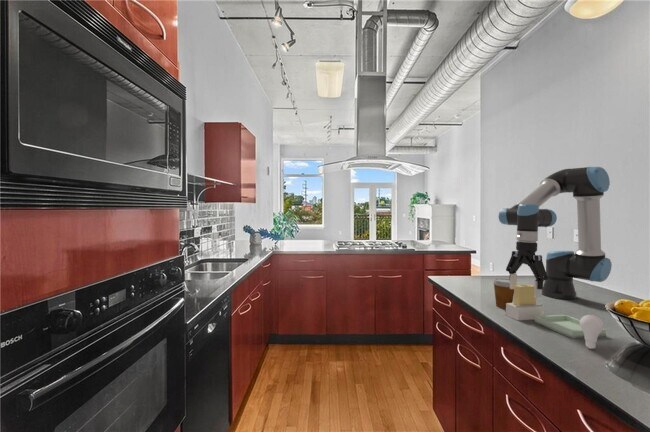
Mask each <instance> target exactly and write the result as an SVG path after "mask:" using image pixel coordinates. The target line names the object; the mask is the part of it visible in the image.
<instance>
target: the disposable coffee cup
mask: <svg viewBox="0 0 650 432" xmlns="http://www.w3.org/2000/svg"><path fill="white" fill-rule="evenodd" d="M492 283H493V289H494V296H495V298H494V299H495V305H496V307H498V308H501V309H506V303H514V289H510V280H509V278H501V277H497V278H496V277H495V278H494V279H493V281H492Z"/></svg>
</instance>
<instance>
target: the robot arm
mask: <svg viewBox="0 0 650 432" xmlns="http://www.w3.org/2000/svg"><path fill="white" fill-rule="evenodd" d="M610 182H611V181H610V177H609V174H608V172H607V170H606V169H605V168H603V167H600V166H585V167H575V168H574V167H573V168H565V169H560V170H559V171H556V172H553V173H551V174H549V175H548V176H547V177H545V178H544V179H542V180H541V181H540V183H539V184H538V186H537V187H536V188H534V189H533V190H532V191H530V192H529V193H528V194H527V195H525V196H524V197H523V198H522V199H520V200H519V201H518V202H517V203H516V204H514V205H513V206H511V207H510V208H509V207H507V208H502V209H500V210H499V212H498V220H499V222H500V223H501V225H507V226H516V242H515V243H516V244H515V247H516V248H515V250H513V251H511V255H510V258H509V260H508V264H507V266H506V268H505V271H506V272H508V274H509V278H508V279H509V280H510V289H514V285H517V284H518V283H517V282H518V274H517V272H518V270H519V269H520V268H521V267H522V265H527V266H528V267H529V269H530V270H531V272H532V274H533V276H534V278H535V280H534V297H536V298H542V297H543V296H545V297H550V298H554V299H559V300H560V299H561V300H575V299H577V295H578V294H577V292H576V290H575V285H574V281H573V280H574V279H578V280H585V281H589V282H597V283H602V282H605V281H607V279H608V277H609V275H610V274H611V271H612V261H611V259H610V258H608V257H606V252H605V251H603V250H602V241H601V240H602V239H601V233H602V232H601V204H600V203H601V199H602V198H603V196H604V194H605V192H607V191H608V190H609V189H610V185H611V183H610ZM563 193H565V194H567V193H572V198H574V199H575V200H576V209H577V210H576V211H577V213H576V215H577V240H578V241H577V244H578V245H577V246H578V249H577V250H576V251H573V250H551V251H549V252H547V253H546V259H545V264H544V263H543V255H541V254H538V255H537V254H536V253H537V252H538V243H537V242H538V241H539V240H538V239H539V232H538V231H539V228H542V227H543V228H548V227H552V226H554V225H555V224H556V222H557V219H558V218H557V217H558V216H557V214H556V212H555V211H553V210H552V209H548V208H540V207H541V206H542V205H543V204H545V203H546V202H547V201H548V200H550V199H551V198H552V197H556V196H558V195H559V194H563ZM544 265H545V266H544ZM542 295H543V296H542Z"/></svg>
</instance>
